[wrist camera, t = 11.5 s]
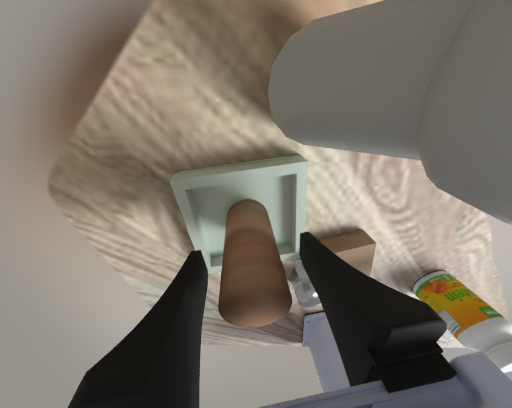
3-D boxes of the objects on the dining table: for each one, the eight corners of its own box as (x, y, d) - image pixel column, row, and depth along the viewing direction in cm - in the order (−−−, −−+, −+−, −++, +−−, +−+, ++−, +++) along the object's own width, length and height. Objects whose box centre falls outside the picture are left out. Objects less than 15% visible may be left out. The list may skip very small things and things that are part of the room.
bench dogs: (313, 280, 23) (324, 303, 20) (290, 285, 23) (298, 308, 20) (317, 238, 19) (331, 260, 17) (290, 243, 19) (299, 266, 17)
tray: (297, 244, 19) (303, 257, 18) (206, 259, 19) (204, 274, 17) (299, 154, 14) (308, 161, 13) (175, 171, 14) (169, 181, 12)
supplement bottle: (453, 265, 26) (562, 347, 17) (441, 288, 28) (529, 367, 20) (416, 275, 26) (506, 361, 17) (407, 297, 28) (482, 380, 20)
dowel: (269, 230, 17) (293, 320, 10) (231, 237, 17) (227, 332, 10) (265, 196, 15) (290, 275, 8) (222, 203, 15) (210, 288, 8)
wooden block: (354, 269, 24) (367, 286, 21) (317, 278, 24) (325, 296, 21) (360, 227, 20) (376, 243, 18) (315, 238, 20) (326, 255, 18)
